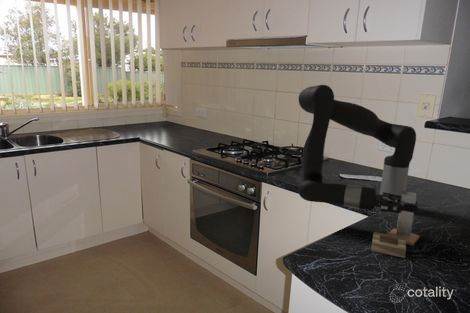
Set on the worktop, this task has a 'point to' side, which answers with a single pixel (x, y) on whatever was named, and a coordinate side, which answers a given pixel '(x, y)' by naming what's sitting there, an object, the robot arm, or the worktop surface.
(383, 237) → the socket block
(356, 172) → the worktop surface
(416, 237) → the tile
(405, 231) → the grey tapered block
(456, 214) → the worktop surface
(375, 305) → the worktop surface
